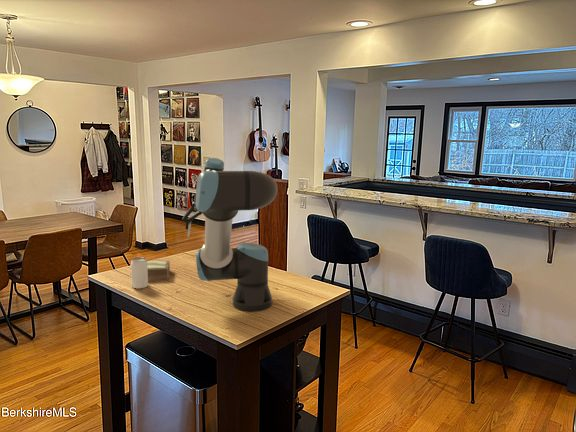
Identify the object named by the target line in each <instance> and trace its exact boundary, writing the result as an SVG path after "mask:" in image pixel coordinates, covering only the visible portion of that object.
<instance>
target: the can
mask: <svg viewBox="0 0 576 432" xmlns="http://www.w3.org/2000/svg"><path fill="white" fill-rule="evenodd" d="M147 261H148V260H147V258H146V257H133V258H132V259H131V262H130V271H131V273H130V275H131V287H132V288H133V289H135V288H136V290H142V289H146V288H147V287H148V286H149V281H148V270H147ZM145 287H146V288H145ZM141 288H142V289H141Z"/></svg>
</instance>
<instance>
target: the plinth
mask: <svg viewBox="0 0 576 432" xmlns="http://www.w3.org/2000/svg"><path fill="white" fill-rule="evenodd" d="M146 261H147V270H148V282H149V281H150V282H151V281H168V278H169V275H170V272H171V271H170V266H171V265H170V260H149V261H148V260H146Z"/></svg>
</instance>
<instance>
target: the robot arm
mask: <svg viewBox="0 0 576 432" xmlns="http://www.w3.org/2000/svg"><path fill="white" fill-rule="evenodd" d="M203 167H204V169H203V171H201V172H200V173H198V177H197V180H196V185H195V186H196V190H195V200H194V201H192V204H191V206H190V207H189V208H188V210H187V211H186V212H185V214H184V215H183V216H182V219H181V221H182V222H184V223H185V230H187V236H186V238H189V237H190V235H191V228H192V227H191V226H192V221H194V220H195V219H196V218H198V217H199V216H201V215H203V216H204V221H205V222H204V244H203V245H202V247H201V248H200V249H197V250H196V252H195V261H196V262H195V263H196V272H197V276H198V279H199V280H200V281H202V282H204V281H205V282H211V281H214V282H215V281H227V280H236V281H237V283H236V288H235V291H234V294H233V297H232V306H233V307H234V308H236V310H237V309H238V310H241V311H243V312H244V311H245V312H258V311H264V310H267V309H269V308H270V307H272V305H273V296H272V294H271V290H270V286H269V281H268V280H269V260H270V259H269V250H268V249H267V248H266V247H265V246H264V245H262V244H257V243H254V242H253V243H252V242H240V243H237V246H236V247H231V236H232V226H233V219H234V218H235V217H236V216H237V215H238V212H239V211H254V210H259V209H262V208H264V207H267V206H268V205H270V204H271V203H272V202H273V201H274V200H275V199H276V197H277V195H278V184H277V181H276V180H275V179H274V178H273V177H272V176H270V175H269V174H267V173H264V172H260V171H254V170H224V169H225V162H224V161H223V160H222V159H220V158H217V157H209V158H207V159H206V160H205V163H204V166H203ZM195 209H196V211H195V212H194V213H193V214H192V212H193V211H194V210H195ZM191 214H192V215H191Z"/></svg>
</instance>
